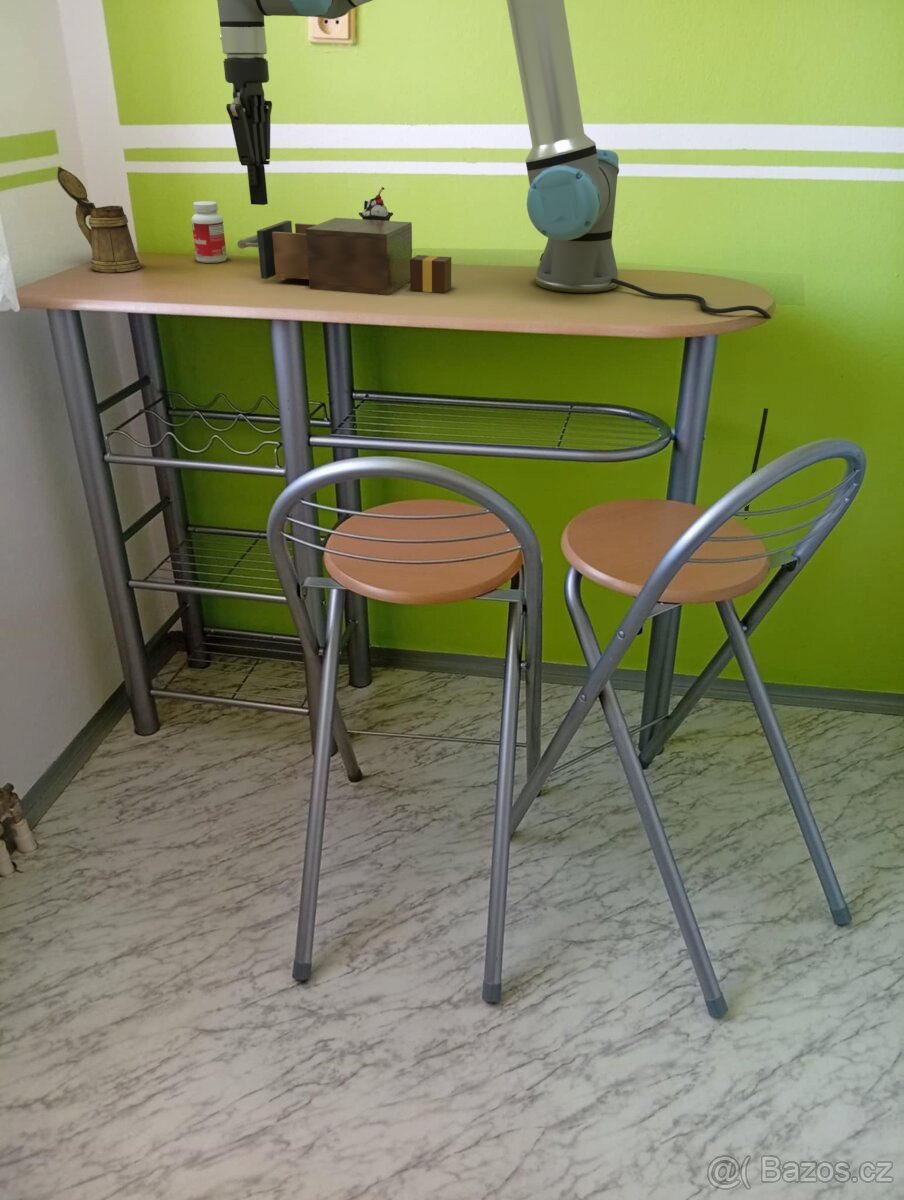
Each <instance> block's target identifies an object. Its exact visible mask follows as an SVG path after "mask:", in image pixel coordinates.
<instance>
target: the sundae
mask: <svg viewBox="0 0 904 1200" xmlns="http://www.w3.org/2000/svg"><path fill="white" fill-rule="evenodd" d="M384 190H385V187H384V186H383V187H382V186H381V189H380V190H379V191H378V193H377V195H375V197H373V198H371V199H369V200H368V201H367V200H364V202H363V211H362V212H358V215H359V216H360V217H361V219H365V220H382V221H391V220H390V219H391V217H392V216H394V213H393V211H392V212H390V211H389V210H388V208H387V206H386V205H385V203H384V200H383V198H382V196H381V193H382V192H383V191H384Z"/></svg>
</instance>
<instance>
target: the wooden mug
mask: <svg viewBox="0 0 904 1200" xmlns="http://www.w3.org/2000/svg"><path fill="white" fill-rule="evenodd" d="M56 178H57V182H58V184H59V185H60V187H61V189H62V190H63V191H64V192H65V193H66V194H67V195H68V197H69V198H71V199H72V200H73V201H75V202H76V206H75V219H76V222H77V226H78V227H79V229H80V231H81V233H82V234H83V236H84V237H85V238H86V240H87V242H88V243H89V245H90V248H91V255H92V257H91V258H90V264H91V269H92V270H93V271H95V272H99V273H105V274H109V273H124V272H132V271H135V270H139V269H140V268H141V266H142V265H141V262H140V258H139V257H138V256H137V253H136V249H135V246H134V242H133V239H132V235H131V232H130V229H129V225H128V223H129V219H128V217H127V215H126V213H125V211H124V208H123V206H122V205H105V206H100V207H96V204H95V203H94V202H91V201H90V200H89V199H88V193H87V189H86V187H85V185H84V184H83V183H82V181H81V180H80V179H79V178H78V177H77V176H76V175H75V174H73V173H71V172H70V171H69V170H67V169H65V168H62V167H61V166H58V167H57V176H56ZM87 217H88V224H87ZM89 226H90V227H89Z"/></svg>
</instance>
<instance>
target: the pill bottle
mask: <svg viewBox="0 0 904 1200" xmlns="http://www.w3.org/2000/svg"><path fill="white" fill-rule="evenodd" d="M192 206H193V211H194V212H195V213H194V214H193V215H192V217H191V228H192V237H193V245H194V253H195V260H196V261H197V262H199V263H202V264H218V263H224V262H225V261H227V257H228V255H227V245H226V237H225V228H224V219H223V216H222V215H221V214H219V213H218V210H219V206H218V202H217V201H211V200H210V201H209V200H201V201H194V202H192Z"/></svg>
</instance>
